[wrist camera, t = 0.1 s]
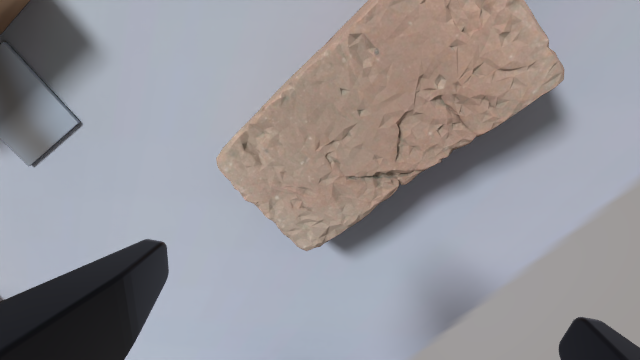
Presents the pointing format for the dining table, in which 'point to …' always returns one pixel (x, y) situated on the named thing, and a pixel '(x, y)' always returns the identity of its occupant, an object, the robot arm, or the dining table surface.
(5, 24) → the structure
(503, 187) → the dining table surface
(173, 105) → the dining table surface
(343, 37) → the brick
